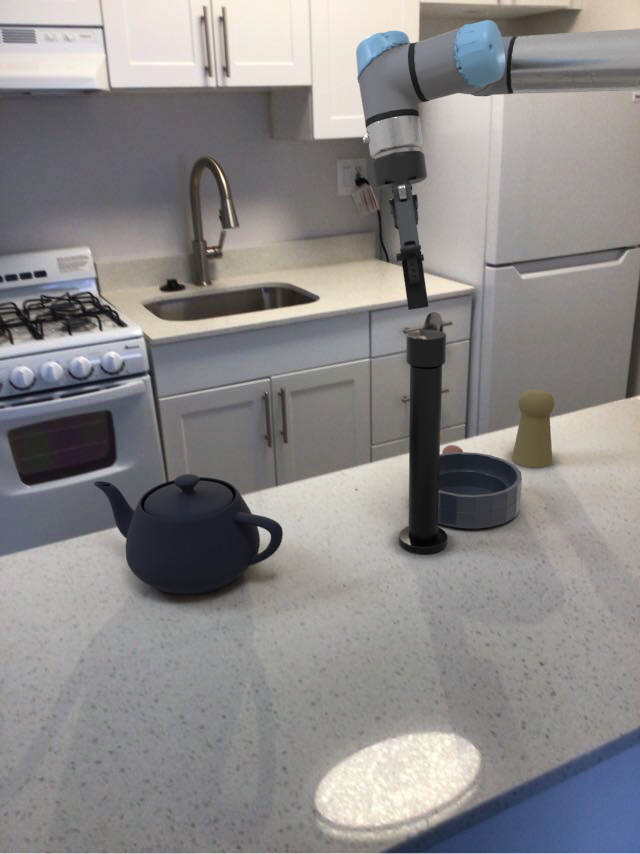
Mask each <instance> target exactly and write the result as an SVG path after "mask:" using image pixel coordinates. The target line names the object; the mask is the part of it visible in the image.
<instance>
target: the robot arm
mask: <svg viewBox="0 0 640 854" xmlns="http://www.w3.org/2000/svg"><path fill="white" fill-rule="evenodd" d="M355 56H356V57H355V59H356V69H357V70H356V71H357V76H356V78H357V83H358V87H359V92H360V98H361V104H362V105H361V106H362V110H363V111H362V112H363V117H364V123H365V124H364V126H365V129H366V134H367V135H364V136H363V138H362V142H363V143H364V144H368V152H369V156H370V158H372V159H373V160H372V162H371V163H370V167H371V175H372V181H373V186H374V187H375V189H379V190H388V189H391V193H392V194H393V198H389V199H388V203H389V209H390V210H389V211H390V214H391V215H392V221H393V224H394V225H393V226H394V228H395V230H396V229H397V231H398V236H399V244H400V248H399V252H400V253H395V256H396V262H401V267H402V273H403V274H402V275H403V280H404V288H405V295H406V301H407V308H408V311H411V310H418V309H424V308H429V300H428V293H427V286H426V277H425V271H424V264H423V262H424V261H425V256H424V254H423V253H422V245H421V244H420V239H419V232H418V225H419V211H418V210H419V200H418V194H413V192H412V191H413V185H416V184H419V183H422V182H423V181H425V180H426V179H427V177H428V176H427V175H428V172H427V166H426V165H427V164H426V157H425V153H423V151H420V150H421V149H423V147H424V139H423V132H422V124H421V118H420V113H419V104H422V103H426V102H430V101H433V100H437V99H441V98H445V97H448V96H452V95H457V94H462V95H471V96H474V97H490V96H497V95H515V94H516V95H517V94H518V95H519V94H550V93H555V94H556V93H588V92H590V93H591V92H622V91H623V92H624V91H625V92H626V91H640V28H628V29H627V28H626V29H611V30H610V29H609V30H594V31H579V32H578V31H577V32H564V33H563V32H562V33H561V32H560V33H548V34H547V33H545V34H534V35H533V34H531V35H518V36H502V33H501V31H500V29H499V27H498V25H497V23H496V22H494V21H493V20H490V19H486V20H482V21H477V22H474V23H466V24H464V25H463V26H460V27H457V28H455V29H452V30H449V31H446V32H444V33H440V34H438V35H437V34H436V35H434V36H432V37H428V38H425V39H422V40H420V41H416V42H410V38H409V36H408V34H407V33H405V32H404V31H400V30H387V31H384V32H377V33H374V34H371V35H369V36H367V37H365V38H363V39H362V40H361V41H360V42H359V44H358V45H357V47H356V50H355Z"/></svg>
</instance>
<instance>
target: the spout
mask: <svg viewBox="0 0 640 854" xmlns="http://www.w3.org/2000/svg"><path fill="white" fill-rule="evenodd" d="M442 321H443V319H442V316H441V314H440V313H438V312H437V311H431V312H430V313H429V314H427V315H426V318H425V320H424V324H423V325H422V326H423V327H422V328H421V329H418V330H413V331H409V332H407V334H406V363H407V365H409V366H410V365H412V366H417V367H436V366H440V365H442V366H443V365H445V364H446V363H447V362H446V359H447V358H446V356H447V333H445V332H444V323H443V322H442ZM442 390H443V380H442V381H441V395H442V392H443V391H442ZM441 423H442V420H441V421H440V442H442V438H443V437H442V435H443V434H442V433H443V432H442V431H441V429H442V428H441V427H442V424H441Z"/></svg>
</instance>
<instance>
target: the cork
mask: <svg viewBox="0 0 640 854" xmlns="http://www.w3.org/2000/svg"><path fill="white" fill-rule="evenodd" d="M554 408H555V398H554V397H553V395H552V394H551V393H550V392H548V391H546V390H542V389H529V390H526V391H523V392H522V393H521V394H520V396H519V397H518V409H519V411H520V412H521V414H520V418H519V422H518V428H517V432H516V436H515V441H514V446H513V451H512V456H511V459H512V461H513V462H514V463H515V464H517V465H519V466H522V467H524V468H535V469H538V468H546V467H548V466H550V465H551V464H552V463H553V448H552V434H551V432H552V431H551V413H553V410H554Z"/></svg>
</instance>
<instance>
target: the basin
mask: <svg viewBox="0 0 640 854" xmlns="http://www.w3.org/2000/svg"><path fill="white" fill-rule="evenodd" d="M522 475H523V474H522V472H521V470H520V469H519V468H518V467H517V466H516V465H515V464H513V463H511V462H509V461H508V460H506V459H504V458H501V457H498V456H494V455H492V454H487V453H486V454H485V453H479V452H465V451H463V452H455V453H444V454H442V453H440V461H439V501H438V525H444V526H448V527H452V528H457V529H460V528H461V529H485V528H492V527H495V526H499V525H503V524H506V523H507V522H509V521H511V520H513V519H514V518H516V516H517V515H518V514H519V512H520V510H521V501H522V486H523V477H522Z"/></svg>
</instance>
